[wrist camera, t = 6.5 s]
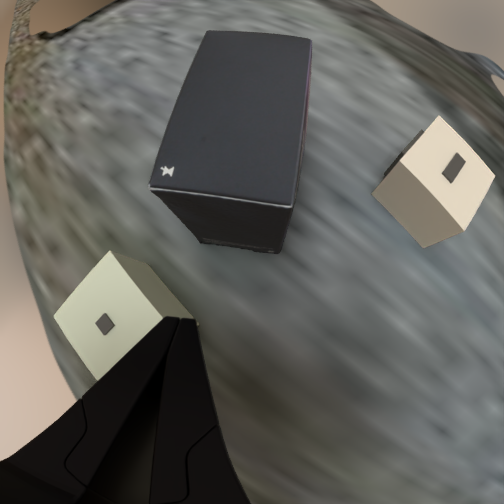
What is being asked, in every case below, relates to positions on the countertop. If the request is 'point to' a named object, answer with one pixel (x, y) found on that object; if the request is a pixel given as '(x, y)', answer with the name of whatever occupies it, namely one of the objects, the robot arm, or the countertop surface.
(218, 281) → the countertop surface
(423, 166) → the cream block seven
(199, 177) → the small box
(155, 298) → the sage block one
